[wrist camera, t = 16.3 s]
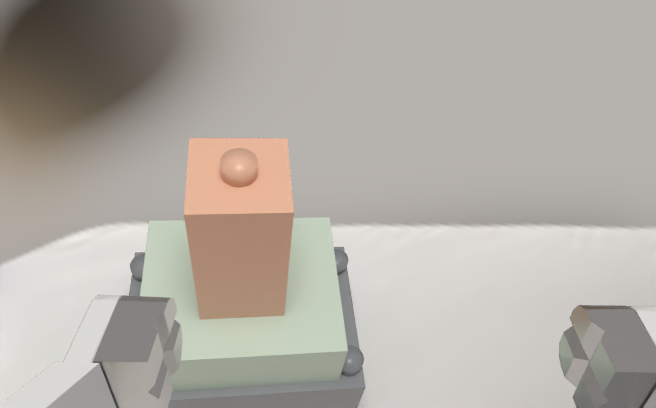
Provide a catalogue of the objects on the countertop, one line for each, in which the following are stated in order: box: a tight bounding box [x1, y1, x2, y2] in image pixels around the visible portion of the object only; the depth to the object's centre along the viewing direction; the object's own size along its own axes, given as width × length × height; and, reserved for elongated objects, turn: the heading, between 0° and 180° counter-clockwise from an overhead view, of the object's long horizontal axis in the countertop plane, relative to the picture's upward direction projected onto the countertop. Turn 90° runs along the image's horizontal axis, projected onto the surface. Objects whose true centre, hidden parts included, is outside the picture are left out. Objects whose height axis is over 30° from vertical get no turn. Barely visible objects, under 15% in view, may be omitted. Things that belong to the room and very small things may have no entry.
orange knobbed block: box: [184, 138, 294, 320], centre depth 27 cm, size 4×4×10 cm
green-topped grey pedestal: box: [129, 218, 365, 408], centre depth 34 cm, size 14×10×9 cm
